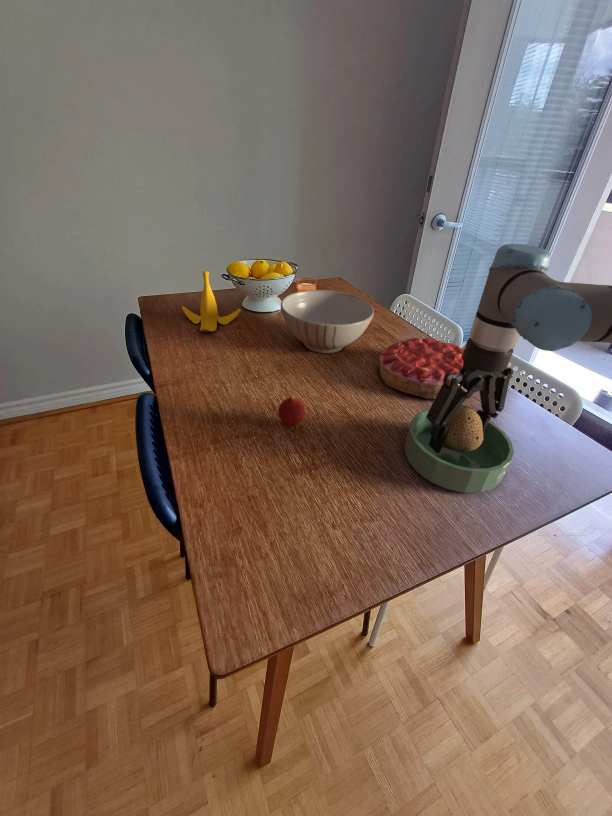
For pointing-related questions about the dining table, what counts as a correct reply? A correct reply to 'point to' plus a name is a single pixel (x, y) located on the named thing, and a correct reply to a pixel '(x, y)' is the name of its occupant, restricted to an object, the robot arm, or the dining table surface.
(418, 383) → the cake
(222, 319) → the banana peel
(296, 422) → the onion
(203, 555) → the dining table surface
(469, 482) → the green bowl
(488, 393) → the robot arm
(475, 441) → the natural sponge
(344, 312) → the decorative bowl
